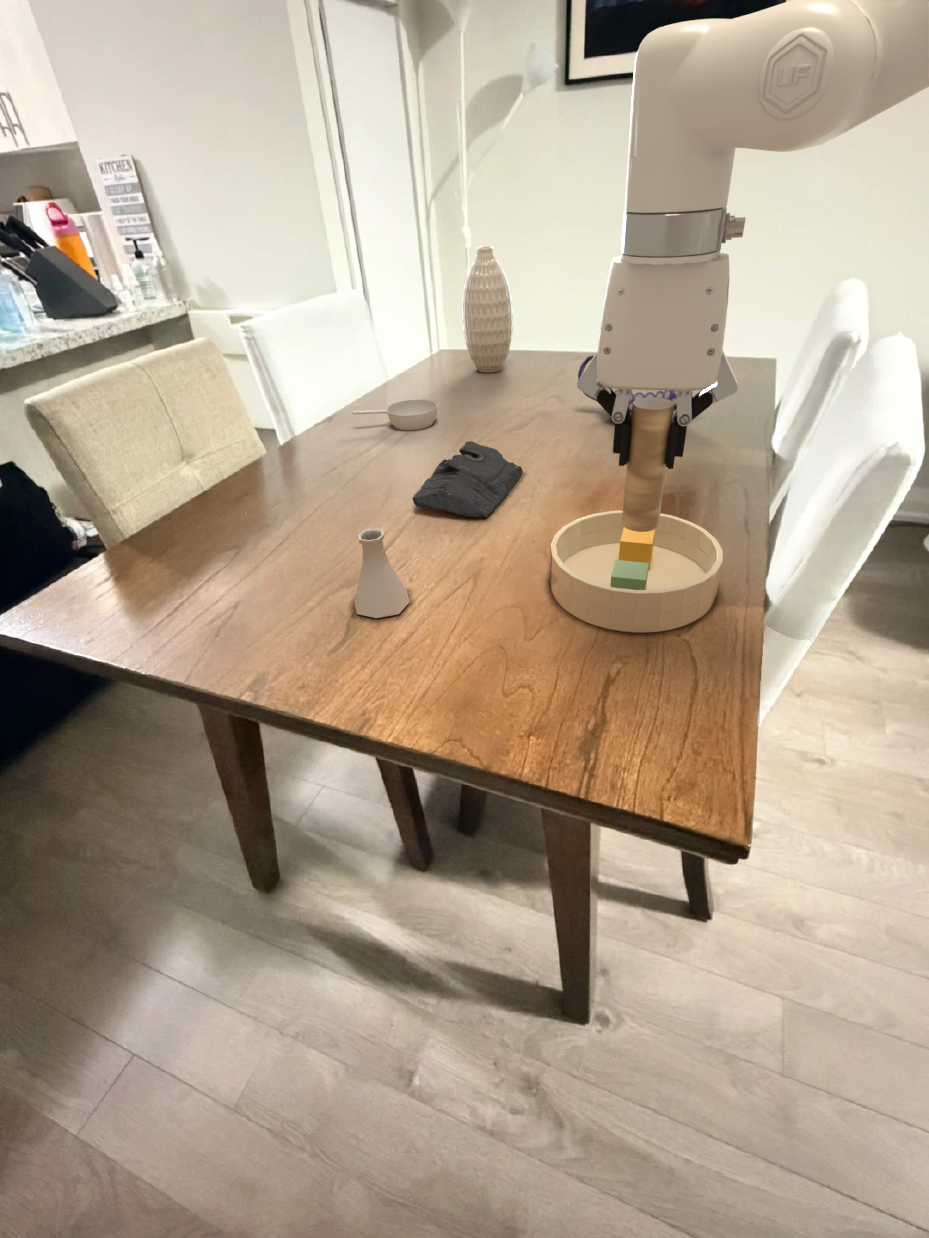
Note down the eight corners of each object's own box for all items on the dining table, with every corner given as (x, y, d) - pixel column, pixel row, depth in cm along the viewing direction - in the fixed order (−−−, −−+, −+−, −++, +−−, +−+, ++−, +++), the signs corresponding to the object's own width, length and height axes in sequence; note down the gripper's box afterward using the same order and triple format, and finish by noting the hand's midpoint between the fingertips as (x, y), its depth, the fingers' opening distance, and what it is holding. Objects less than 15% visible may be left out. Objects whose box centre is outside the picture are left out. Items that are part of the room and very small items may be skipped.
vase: (523, 367, 170) (522, 244, 153) (492, 379, 162) (487, 251, 146) (486, 361, 177) (482, 243, 161) (455, 372, 170) (447, 250, 153)
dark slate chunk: (397, 513, 103) (393, 486, 101) (447, 461, 120) (445, 436, 117) (487, 523, 99) (486, 495, 96) (527, 468, 115) (526, 442, 112)
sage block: (645, 590, 80) (649, 562, 77) (642, 608, 77) (646, 580, 74) (613, 587, 81) (615, 559, 78) (608, 604, 78) (611, 576, 75)
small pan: (440, 429, 135) (439, 410, 132) (354, 438, 134) (351, 420, 131) (436, 413, 143) (434, 395, 141) (355, 421, 142) (352, 404, 140)
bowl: (716, 553, 87) (722, 517, 84) (714, 643, 72) (722, 603, 68) (566, 539, 93) (567, 504, 90) (534, 620, 77) (534, 581, 74)
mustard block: (652, 556, 86) (655, 529, 84) (649, 571, 83) (652, 544, 81) (621, 553, 87) (623, 526, 85) (617, 567, 84) (620, 541, 82)
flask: (414, 588, 85) (405, 520, 79) (405, 620, 79) (394, 549, 73) (361, 588, 86) (348, 520, 80) (348, 619, 80) (333, 549, 74)
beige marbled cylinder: (659, 516, 65) (675, 397, 58) (657, 533, 63) (673, 410, 56) (623, 514, 66) (634, 396, 59) (619, 530, 64) (630, 409, 57)
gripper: (783, 228, 51) (739, 451, 61) (572, 236, 55) (565, 443, 66) (792, 239, 45) (742, 484, 56) (556, 247, 49) (552, 472, 60)
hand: (646, 460), depth 61 cm, fingers closed on beige marbled cylinder, 3 cm apart
